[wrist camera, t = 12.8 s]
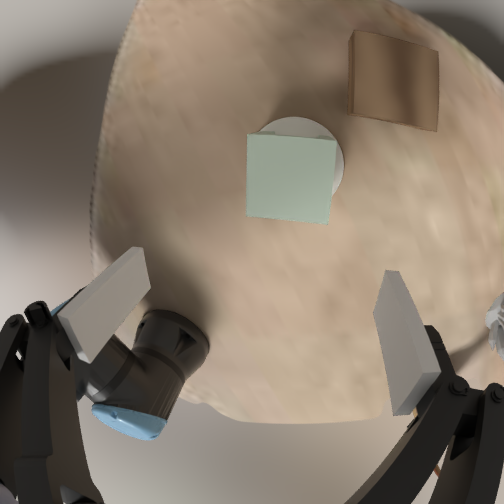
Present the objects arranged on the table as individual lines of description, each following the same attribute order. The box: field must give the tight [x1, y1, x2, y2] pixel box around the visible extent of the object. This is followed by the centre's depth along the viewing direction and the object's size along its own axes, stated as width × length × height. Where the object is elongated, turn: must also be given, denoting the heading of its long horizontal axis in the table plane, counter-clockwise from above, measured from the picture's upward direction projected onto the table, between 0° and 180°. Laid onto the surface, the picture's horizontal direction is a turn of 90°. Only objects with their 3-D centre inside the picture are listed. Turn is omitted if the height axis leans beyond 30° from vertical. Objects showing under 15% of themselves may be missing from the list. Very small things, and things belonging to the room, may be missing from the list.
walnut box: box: [347, 30, 439, 132], centre depth 23 cm, size 10×10×5 cm
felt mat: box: [259, 117, 344, 195], centre depth 32 cm, size 12×12×1 cm
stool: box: [246, 131, 337, 225], centre depth 28 cm, size 8×8×9 cm
